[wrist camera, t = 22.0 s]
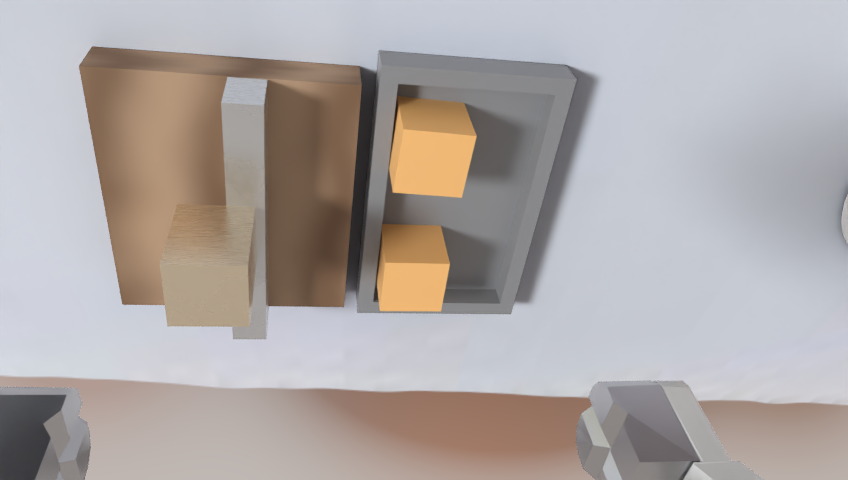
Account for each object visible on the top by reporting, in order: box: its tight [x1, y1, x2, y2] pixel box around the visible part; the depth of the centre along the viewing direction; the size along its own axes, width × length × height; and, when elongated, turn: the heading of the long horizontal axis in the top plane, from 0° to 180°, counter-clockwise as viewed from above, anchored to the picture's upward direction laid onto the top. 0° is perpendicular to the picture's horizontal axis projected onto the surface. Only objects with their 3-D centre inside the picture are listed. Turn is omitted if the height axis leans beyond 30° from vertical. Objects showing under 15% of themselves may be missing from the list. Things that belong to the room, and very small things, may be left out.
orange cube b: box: [376, 224, 450, 311], centre depth 44 cm, size 4×4×4 cm
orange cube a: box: [389, 96, 477, 198], centre depth 39 cm, size 4×4×4 cm
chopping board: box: [79, 47, 362, 307], centre depth 41 cm, size 14×16×2 cm
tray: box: [356, 51, 577, 314], centre depth 43 cm, size 11×18×2 cm, turn 173°
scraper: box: [160, 77, 269, 339], centre depth 36 cm, size 4×16×8 cm, turn 172°
